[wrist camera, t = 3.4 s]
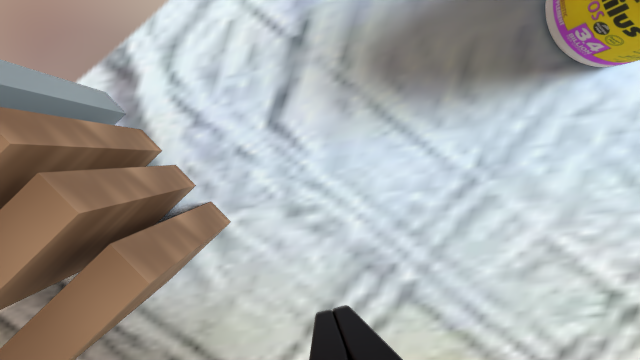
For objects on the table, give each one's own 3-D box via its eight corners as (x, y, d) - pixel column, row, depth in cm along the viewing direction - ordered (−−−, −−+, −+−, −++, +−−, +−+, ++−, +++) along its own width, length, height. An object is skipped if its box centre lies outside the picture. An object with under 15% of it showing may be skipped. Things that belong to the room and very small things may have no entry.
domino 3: (162, 150, 20) (10, 143, 10) (98, 211, 20) (-112, 263, 10) (141, 129, 20) (-32, 101, 10) (78, 191, 20) (-154, 223, 10)
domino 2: (195, 185, 20) (78, 213, 10) (132, 245, 20) (-43, 330, 10) (175, 165, 20) (38, 172, 10) (112, 225, 20) (-84, 291, 10)
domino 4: (126, 113, 20) (-64, 69, 10) (62, 175, 20) (-187, 192, 10) (105, 92, 20) (-107, 26, 10) (41, 154, 20) (-230, 150, 10)
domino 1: (230, 221, 20) (149, 283, 10) (167, 281, 21) (28, 397, 11) (211, 201, 20) (110, 243, 10) (147, 261, 20) (-12, 360, 11)
